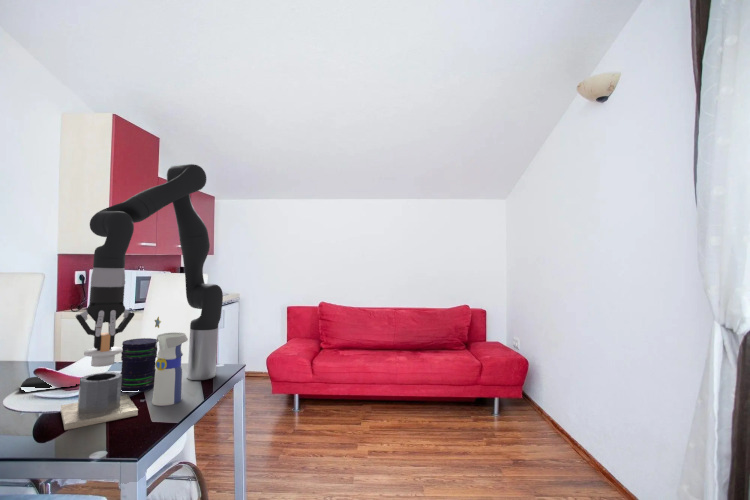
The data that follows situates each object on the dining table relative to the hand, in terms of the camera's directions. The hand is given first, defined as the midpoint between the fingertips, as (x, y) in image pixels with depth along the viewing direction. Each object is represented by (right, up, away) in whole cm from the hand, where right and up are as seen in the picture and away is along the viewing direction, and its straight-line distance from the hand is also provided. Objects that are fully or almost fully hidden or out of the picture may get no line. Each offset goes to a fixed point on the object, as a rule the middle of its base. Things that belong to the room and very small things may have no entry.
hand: (103, 349), depth 102 cm
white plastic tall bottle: (+12, -18, +10) cm, 24 cm away
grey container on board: (-1, -17, -1) cm, 17 cm away
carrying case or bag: (-30, -17, +20) cm, 40 cm away
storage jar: (-3, -18, +20) cm, 27 cm away
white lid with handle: (0, -4, 0) cm, 4 cm away
